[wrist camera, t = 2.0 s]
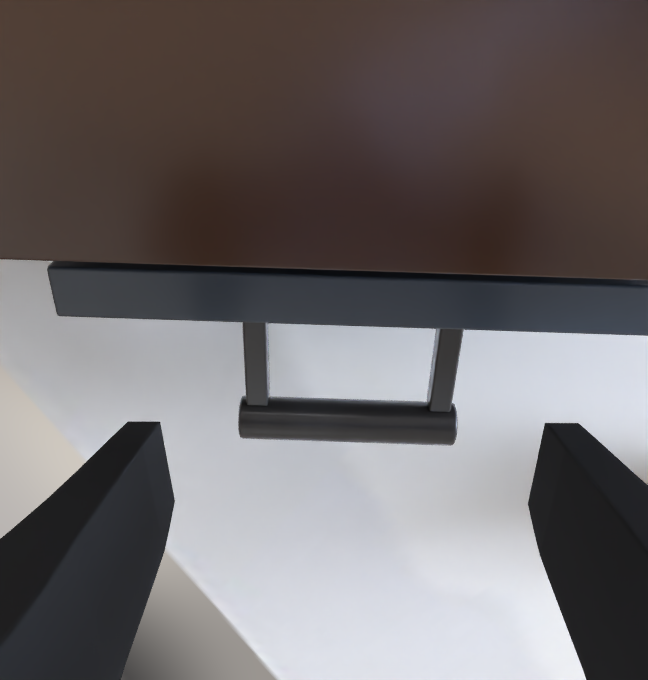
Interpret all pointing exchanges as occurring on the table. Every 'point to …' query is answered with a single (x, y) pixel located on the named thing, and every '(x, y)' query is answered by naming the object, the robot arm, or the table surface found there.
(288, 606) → the table surface
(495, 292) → the drawer
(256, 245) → the cabinet
